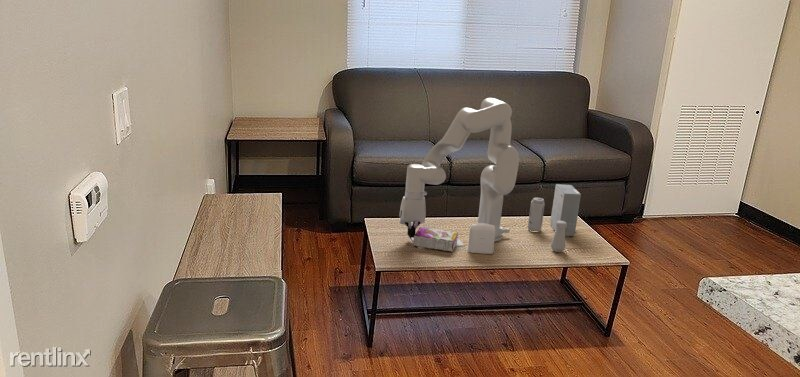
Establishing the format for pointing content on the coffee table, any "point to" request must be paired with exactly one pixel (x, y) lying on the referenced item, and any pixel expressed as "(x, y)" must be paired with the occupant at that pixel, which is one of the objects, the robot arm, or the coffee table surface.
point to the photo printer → (481, 238)
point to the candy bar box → (435, 239)
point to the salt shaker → (559, 237)
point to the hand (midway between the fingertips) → (411, 236)
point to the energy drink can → (536, 214)
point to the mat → (456, 244)
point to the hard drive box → (565, 207)
